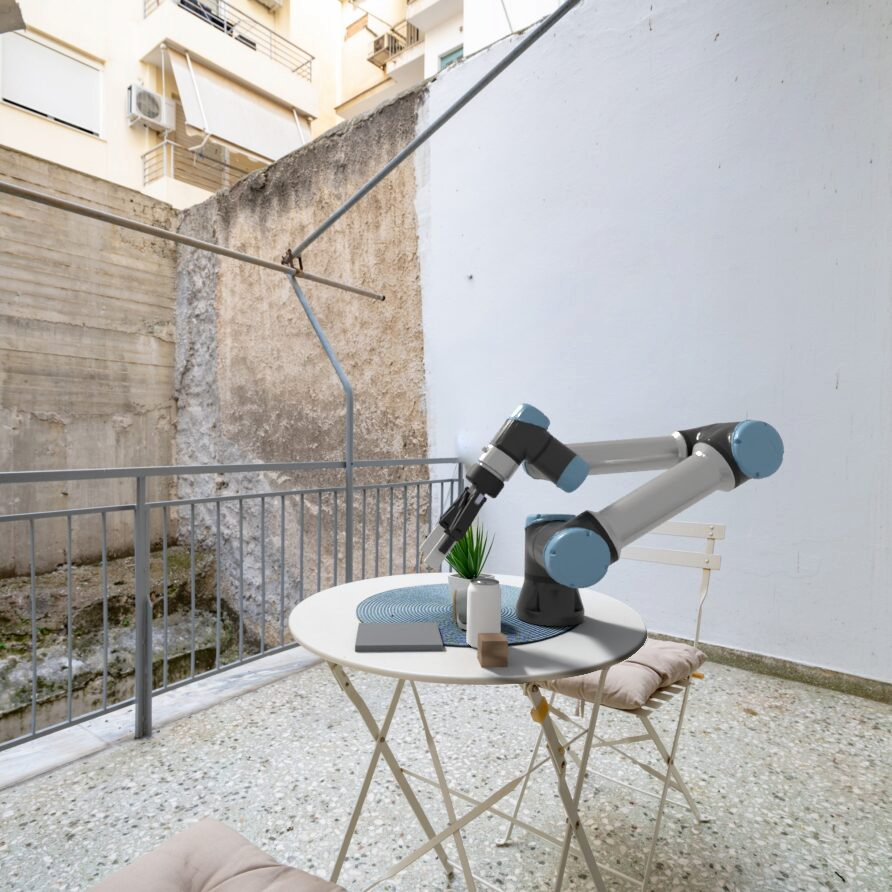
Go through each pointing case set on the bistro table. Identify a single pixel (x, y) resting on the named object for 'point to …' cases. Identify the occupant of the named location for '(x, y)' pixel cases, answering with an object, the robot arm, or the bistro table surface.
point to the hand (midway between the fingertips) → (426, 559)
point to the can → (483, 609)
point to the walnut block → (492, 650)
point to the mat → (398, 637)
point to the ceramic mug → (460, 607)
